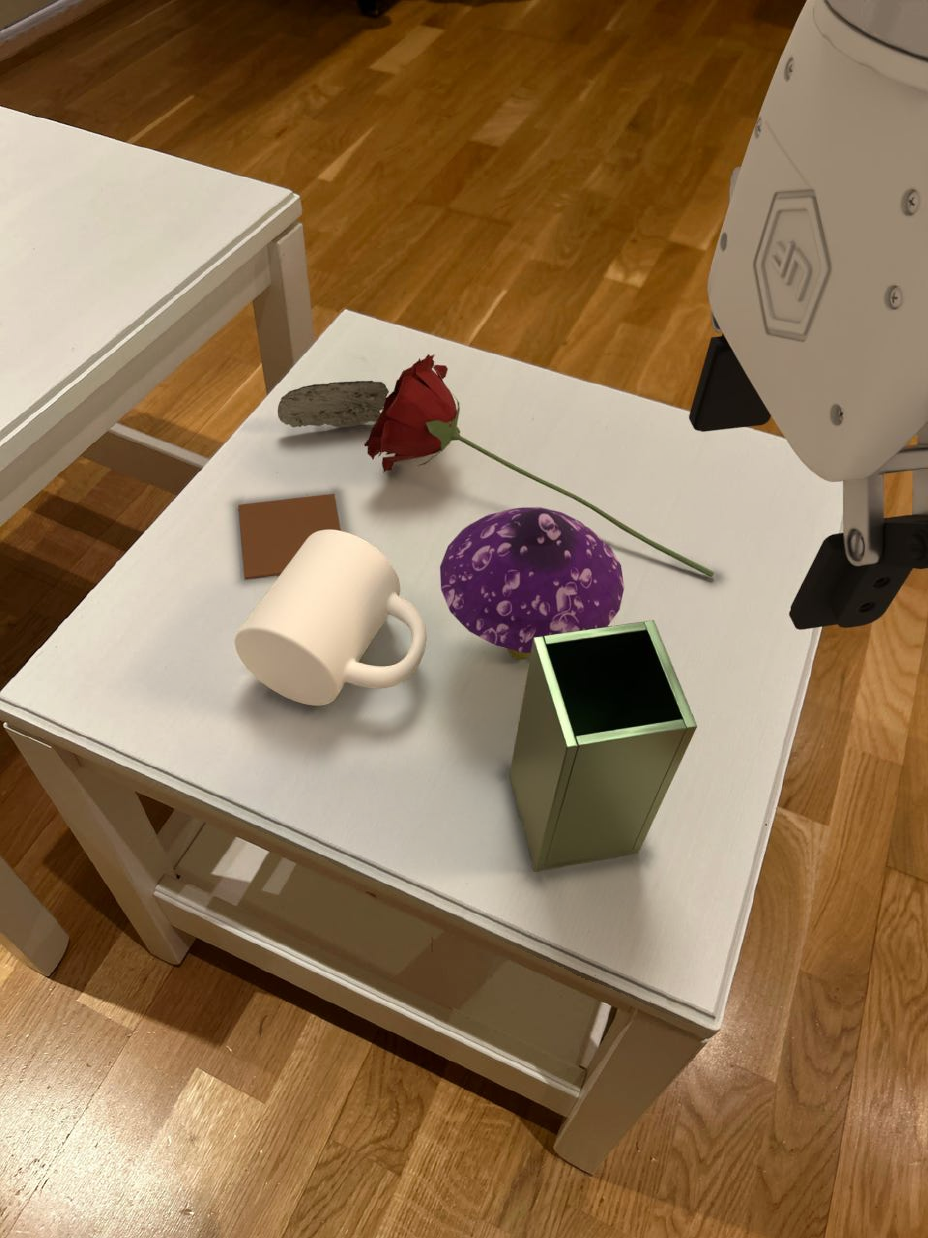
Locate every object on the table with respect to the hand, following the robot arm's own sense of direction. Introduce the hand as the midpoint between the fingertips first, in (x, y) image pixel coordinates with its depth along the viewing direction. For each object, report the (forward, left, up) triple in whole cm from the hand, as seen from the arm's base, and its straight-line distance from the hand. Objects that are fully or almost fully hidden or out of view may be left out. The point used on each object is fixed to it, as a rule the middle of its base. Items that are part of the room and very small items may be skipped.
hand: (776, 512), depth 34 cm
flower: (+3, +32, -33) cm, 46 cm away
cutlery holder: (-2, +4, -33) cm, 33 cm away
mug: (-15, +19, -33) cm, 41 cm away
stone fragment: (-13, +45, -33) cm, 57 cm away
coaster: (-18, +32, -33) cm, 50 cm away
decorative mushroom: (-2, +18, -33) cm, 38 cm away
